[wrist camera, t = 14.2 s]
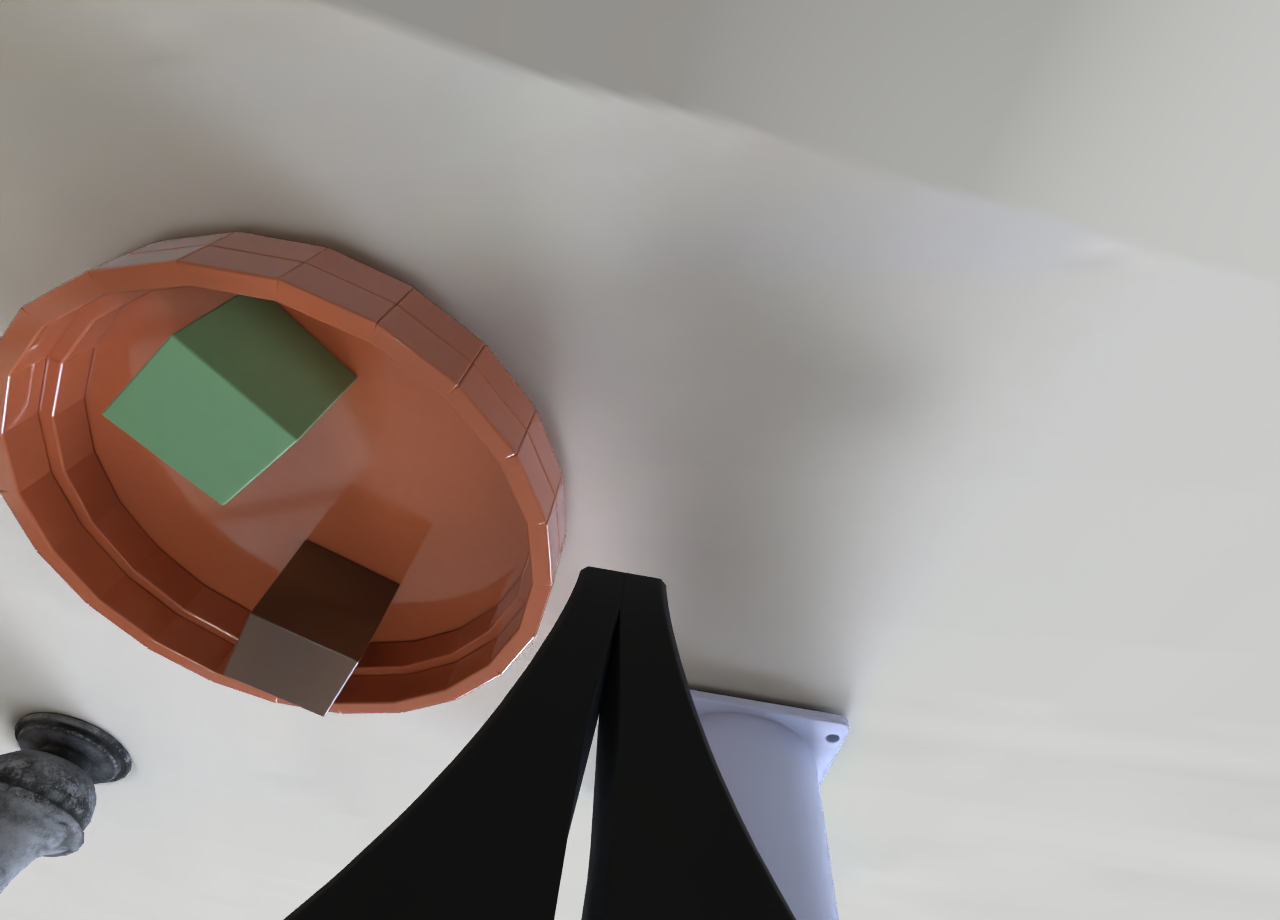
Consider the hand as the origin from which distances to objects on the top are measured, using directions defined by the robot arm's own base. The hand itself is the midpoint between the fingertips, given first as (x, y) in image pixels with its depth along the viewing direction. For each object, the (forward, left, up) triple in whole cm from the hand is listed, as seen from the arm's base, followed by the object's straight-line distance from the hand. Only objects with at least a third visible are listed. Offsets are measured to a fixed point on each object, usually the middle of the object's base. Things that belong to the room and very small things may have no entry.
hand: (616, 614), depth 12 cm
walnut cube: (-11, +10, -9) cm, 17 cm away
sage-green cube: (-2, +11, -9) cm, 14 cm away
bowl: (-6, +10, -9) cm, 15 cm away
